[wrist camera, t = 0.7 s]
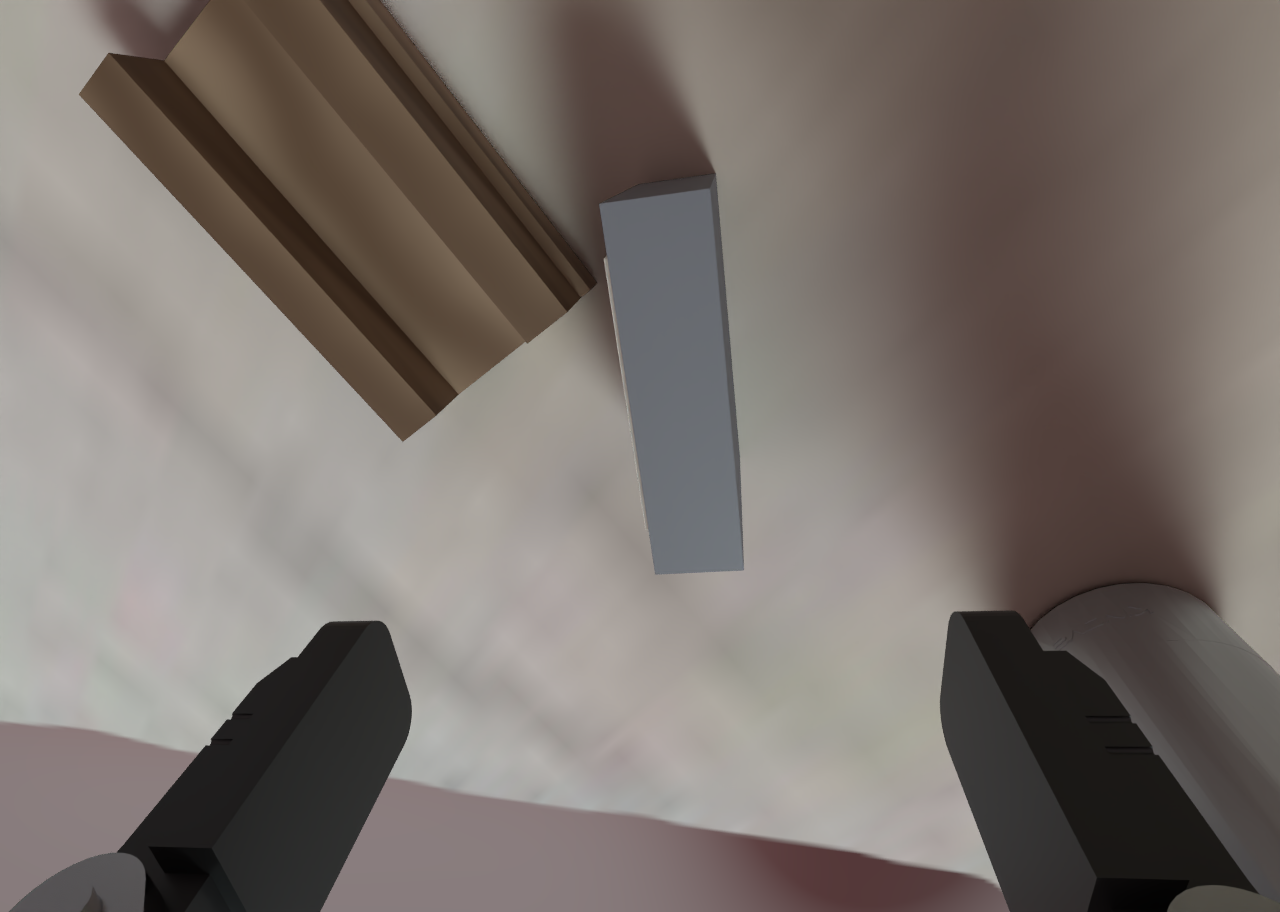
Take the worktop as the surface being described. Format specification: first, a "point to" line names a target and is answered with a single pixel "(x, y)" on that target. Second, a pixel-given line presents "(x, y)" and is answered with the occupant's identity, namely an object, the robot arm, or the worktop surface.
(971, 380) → the worktop surface
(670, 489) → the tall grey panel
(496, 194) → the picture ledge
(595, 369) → the worktop surface
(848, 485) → the worktop surface
